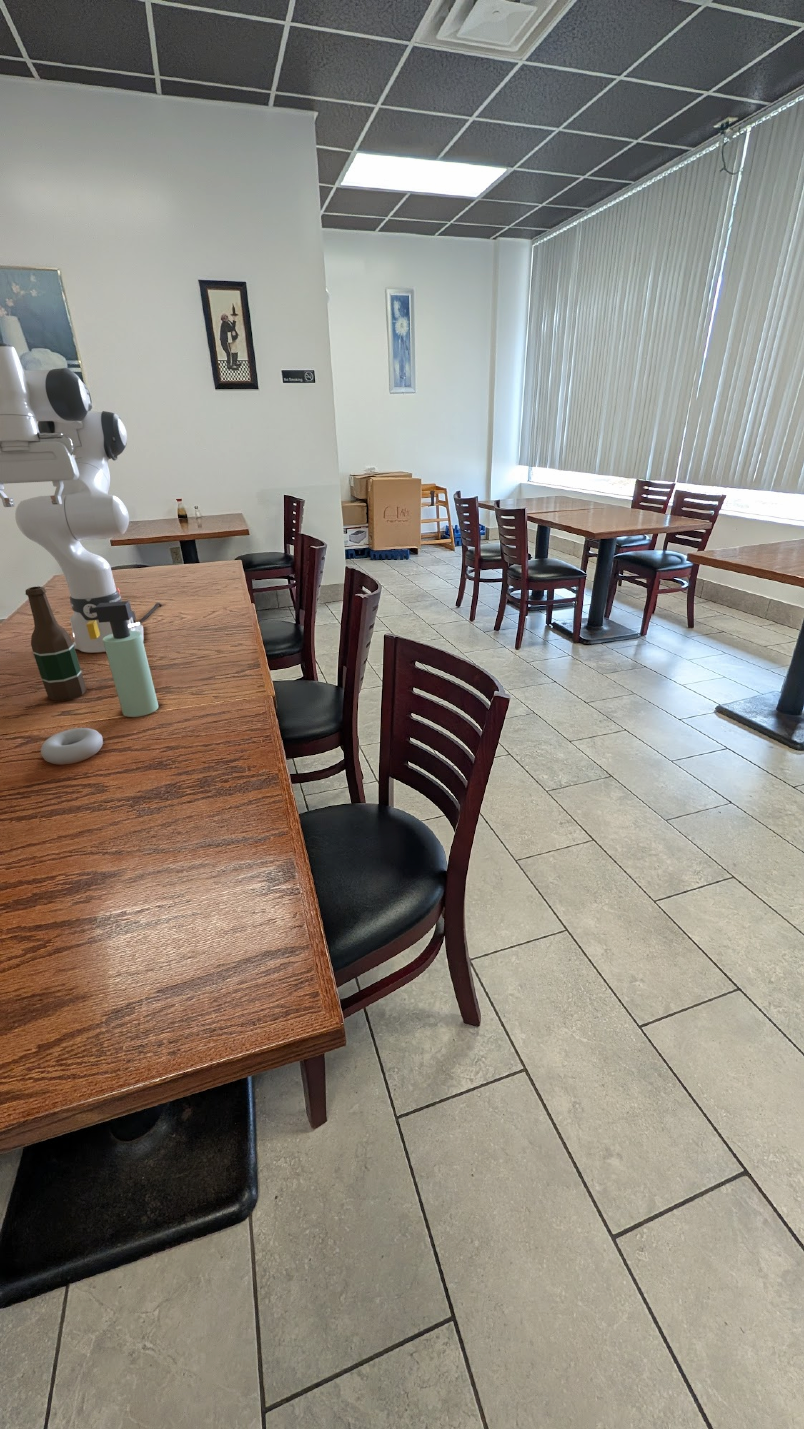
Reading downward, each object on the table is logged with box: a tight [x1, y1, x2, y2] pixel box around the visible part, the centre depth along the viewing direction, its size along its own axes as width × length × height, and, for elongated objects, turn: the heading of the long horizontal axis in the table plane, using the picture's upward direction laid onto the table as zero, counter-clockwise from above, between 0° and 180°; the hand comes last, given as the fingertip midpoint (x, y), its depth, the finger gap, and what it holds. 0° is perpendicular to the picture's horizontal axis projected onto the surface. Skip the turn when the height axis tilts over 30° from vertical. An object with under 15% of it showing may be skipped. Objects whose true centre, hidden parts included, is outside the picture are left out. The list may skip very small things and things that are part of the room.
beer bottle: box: [25, 585, 87, 702], centre depth 125 cm, size 8×8×24 cm
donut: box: [40, 727, 104, 766], centre depth 105 cm, size 10×4×10 cm
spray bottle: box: [89, 600, 159, 718], centre depth 117 cm, size 7×8×22 cm
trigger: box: [86, 620, 100, 639], centre depth 113 cm, size 2×1×3 cm, turn 11°
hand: (33, 505), depth 124 cm, fingers open, 8 cm apart
